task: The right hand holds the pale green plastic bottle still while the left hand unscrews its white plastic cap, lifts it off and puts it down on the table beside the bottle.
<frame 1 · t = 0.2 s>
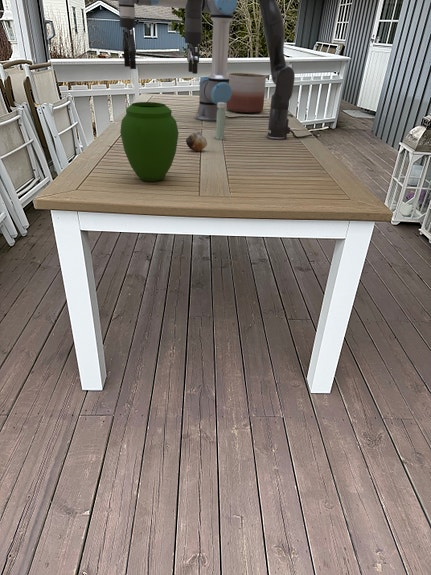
left hand: (130, 67, 208), 28 cm above the table, tool pointing down, fingers open, 13 cm apart
right hand: (192, 72, 187), 29 cm above the table, tool pointing down, fingers open, 8 cm apart
cap: (221, 103, 197), point 16 cm above the table, screwed on, not yet turned
seashell: (196, 151, 183), on the table
bottle: (219, 138, 206), on the table
planter: (244, 111, 281), on the table
vase: (151, 178, 146), on the table
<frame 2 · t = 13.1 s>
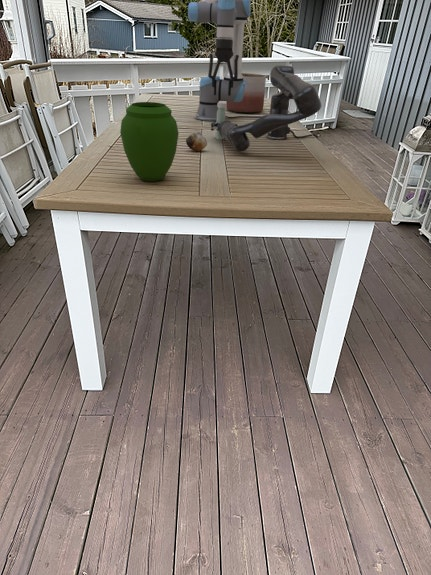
left hand: (222, 95, 195), 20 cm above the table, tool pointing down, fingers open, 6 cm apart
right hand: (219, 123, 205), 7 cm above the table, tool horizontal, fingers closed on bottle, 4 cm apart
bottle: (219, 138, 206), on the table, touching right hand
everything else where it was.
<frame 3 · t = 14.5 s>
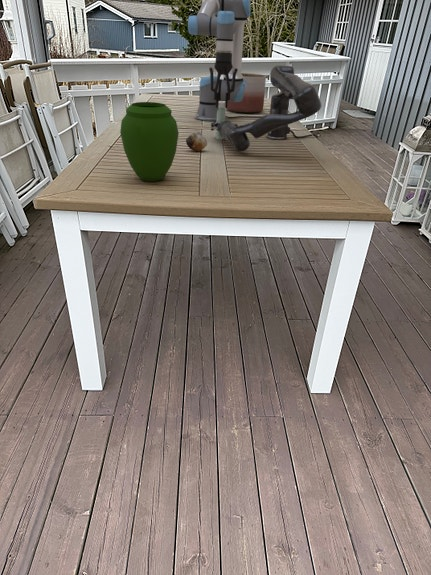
left hand: (221, 107, 198), 15 cm above the table, tool pointing down, fingers closed on cap, 4 cm apart
right hand: (219, 123, 205), 7 cm above the table, tool horizontal, fingers closed on bottle, 4 cm apart
cap: (221, 103, 197), point 16 cm above the table, screwed on, not yet turned, touching left hand
bottle: (219, 138, 206), on the table, touching right hand
everything else where it was.
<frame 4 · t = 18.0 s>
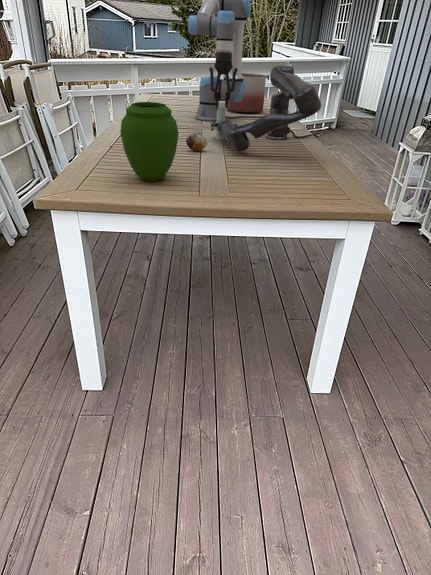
left hand: (221, 107, 198), 15 cm above the table, tool pointing down, fingers closed on cap, 4 cm apart
right hand: (219, 123, 205), 7 cm above the table, tool horizontal, fingers closed on bottle, 4 cm apart
cap: (221, 103, 197), point 16 cm above the table, turned 121° so far, risen 0.1 cm, still on its thread, touching left hand
bottle: (219, 138, 206), on the table, touching right hand
everything else where it was.
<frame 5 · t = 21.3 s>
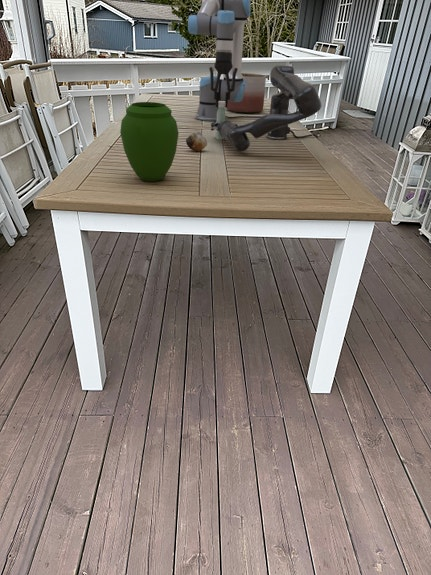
left hand: (221, 106, 198), 15 cm above the table, tool pointing down, fingers closed on cap, 4 cm apart
right hand: (219, 123, 205), 7 cm above the table, tool horizontal, fingers closed on bottle, 4 cm apart
cap: (221, 103, 197), point 16 cm above the table, turned 241° so far, risen 0.2 cm, still on its thread, touching left hand
bottle: (219, 138, 206), on the table, touching right hand
everything else where it was.
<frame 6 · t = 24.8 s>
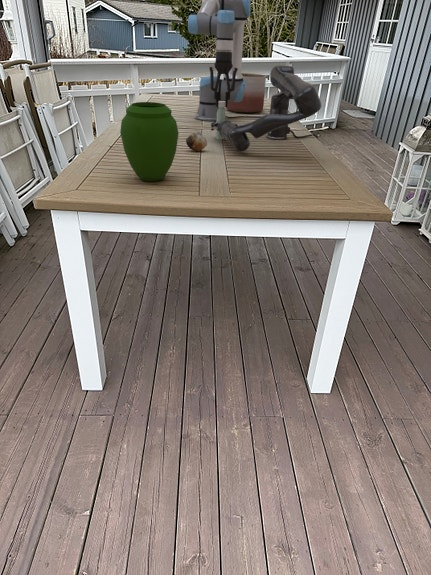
left hand: (221, 106, 198), 15 cm above the table, tool pointing down, fingers closed on cap, 4 cm apart
right hand: (219, 123, 205), 7 cm above the table, tool horizontal, fingers closed on bottle, 4 cm apart
cap: (221, 103, 197), point 17 cm above the table, turned 362° so far, risen 0.3 cm, still on its thread, touching left hand
bottle: (219, 138, 206), on the table, touching right hand
everything else where it was.
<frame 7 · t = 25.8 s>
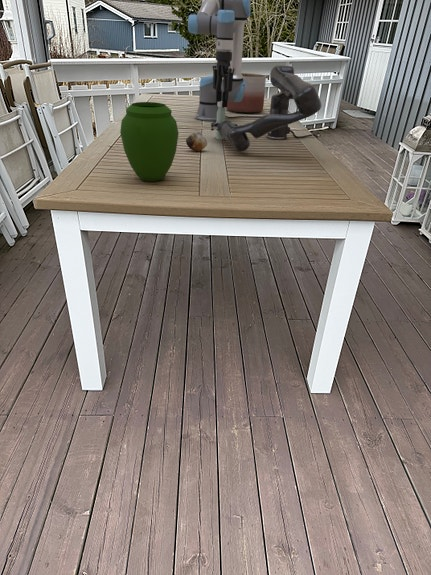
left hand: (221, 106, 198), 15 cm above the table, tool pointing down, fingers closed on cap, 4 cm apart
right hand: (219, 123, 205), 7 cm above the table, tool horizontal, fingers closed on bottle, 4 cm apart
cap: (221, 102, 197), point 17 cm above the table, off its thread, touching left hand
bottle: (219, 138, 206), on the table, touching right hand
everything else where it was.
when the left hand's fingers open (2 cm above the table, at t = 31.8 s): cap drops 2 cm, point 2 cm above the table.
when the right hand's fingers open (7 cm above the table, at t = 33.1 s): bottle stays where it is, on the table.
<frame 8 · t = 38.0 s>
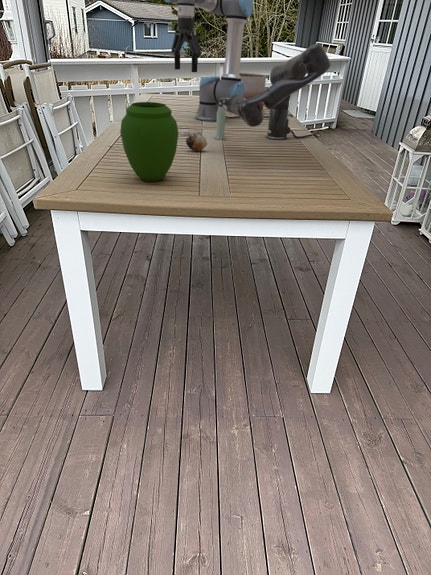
left hand: (185, 70, 195), 29 cm above the table, tool pointing down, fingers open, 13 cm apart
right hand: (228, 100, 187), 19 cm above the table, tool horizontal, fingers open, 8 cm apart
cap: (185, 131, 210), point 2 cm above the table, off its thread
bottle: (219, 138, 206), on the table
everything else where it was.
at the end: cap came off its thread; cap point 1.6 cm above the table; the left hand is holding nothing; the right hand is holding nothing; bottle tilted 0°; bottle moved 0.0 cm from its start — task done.
